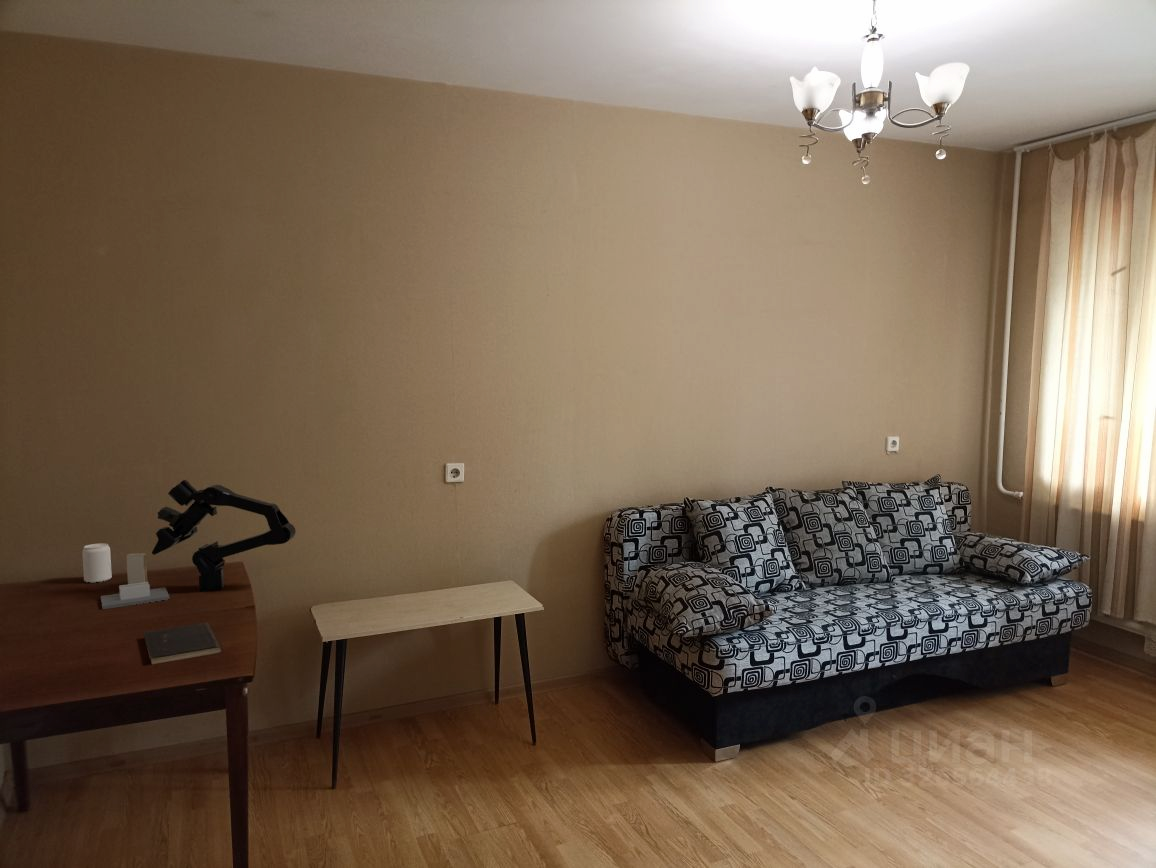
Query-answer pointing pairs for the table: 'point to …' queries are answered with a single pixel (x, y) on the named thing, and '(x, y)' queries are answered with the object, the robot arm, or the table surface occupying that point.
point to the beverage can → (96, 563)
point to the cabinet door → (136, 568)
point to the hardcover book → (181, 643)
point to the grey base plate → (134, 595)
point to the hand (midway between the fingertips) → (159, 550)
